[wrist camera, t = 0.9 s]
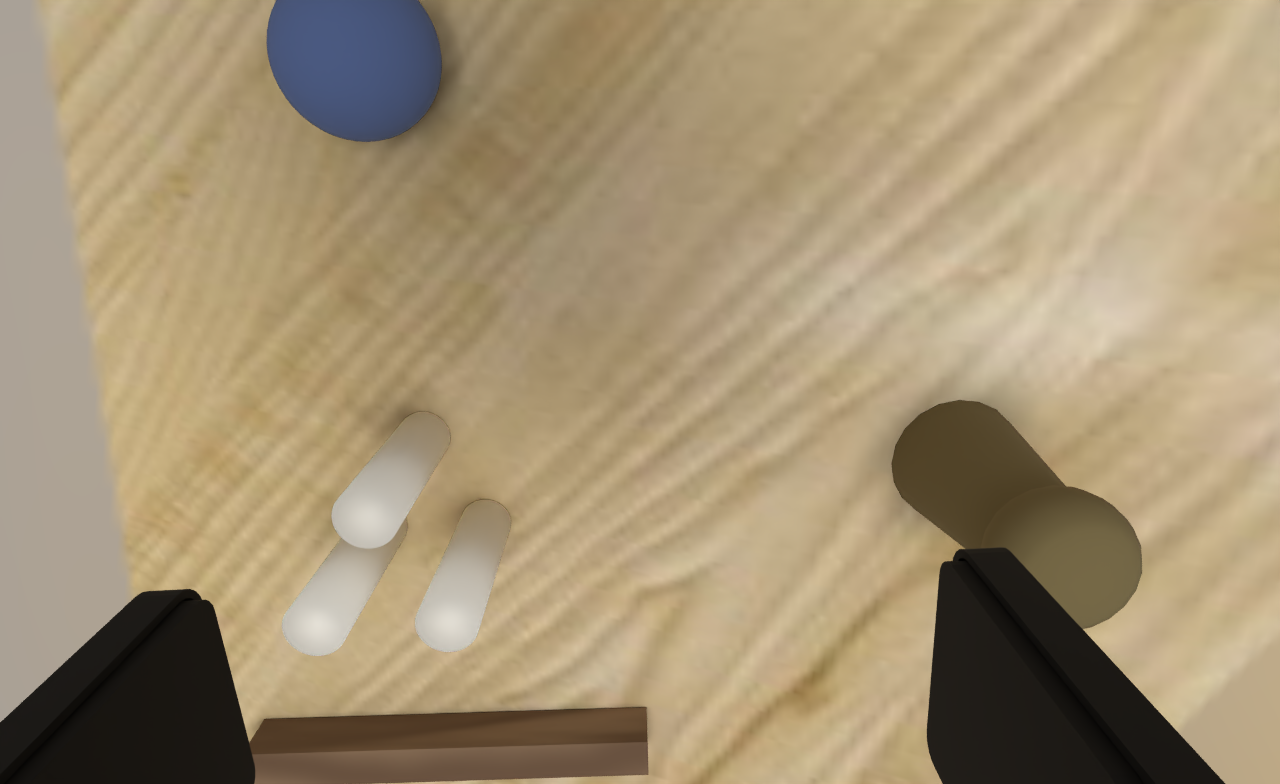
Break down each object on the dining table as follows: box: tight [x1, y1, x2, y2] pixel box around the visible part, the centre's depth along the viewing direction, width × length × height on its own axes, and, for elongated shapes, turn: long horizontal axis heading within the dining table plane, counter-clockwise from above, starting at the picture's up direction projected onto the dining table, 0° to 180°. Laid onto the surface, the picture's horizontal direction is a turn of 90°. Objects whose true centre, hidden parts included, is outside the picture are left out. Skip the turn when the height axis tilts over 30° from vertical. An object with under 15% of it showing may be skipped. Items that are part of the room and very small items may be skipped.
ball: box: [267, 0, 442, 142], centre depth 28 cm, size 6×6×6 cm
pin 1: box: [282, 518, 407, 656], centre depth 33 cm, size 2×2×8 cm
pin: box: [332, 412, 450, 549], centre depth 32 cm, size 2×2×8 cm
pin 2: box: [415, 499, 511, 652], centre depth 33 cm, size 2×2×8 cm
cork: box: [892, 400, 1142, 629], centre depth 31 cm, size 6×6×11 cm
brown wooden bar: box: [249, 707, 648, 784], centre depth 40 cm, size 2×20×2 cm, turn 91°
